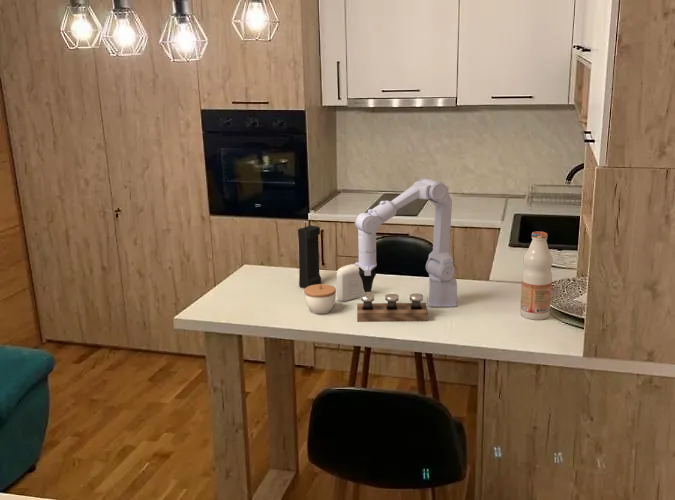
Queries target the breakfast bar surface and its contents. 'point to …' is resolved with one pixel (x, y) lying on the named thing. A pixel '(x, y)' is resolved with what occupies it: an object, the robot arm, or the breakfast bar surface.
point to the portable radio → (309, 256)
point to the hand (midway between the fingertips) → (367, 289)
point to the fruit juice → (537, 279)
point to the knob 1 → (367, 301)
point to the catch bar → (391, 313)
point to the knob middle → (391, 300)
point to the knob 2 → (416, 301)
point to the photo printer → (349, 283)
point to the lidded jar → (320, 298)
